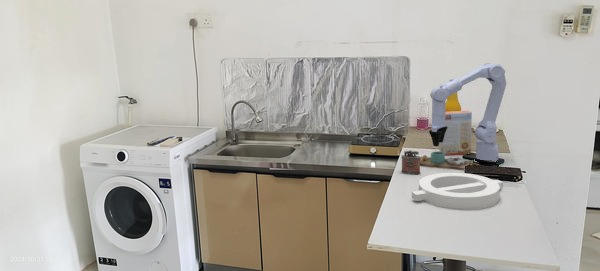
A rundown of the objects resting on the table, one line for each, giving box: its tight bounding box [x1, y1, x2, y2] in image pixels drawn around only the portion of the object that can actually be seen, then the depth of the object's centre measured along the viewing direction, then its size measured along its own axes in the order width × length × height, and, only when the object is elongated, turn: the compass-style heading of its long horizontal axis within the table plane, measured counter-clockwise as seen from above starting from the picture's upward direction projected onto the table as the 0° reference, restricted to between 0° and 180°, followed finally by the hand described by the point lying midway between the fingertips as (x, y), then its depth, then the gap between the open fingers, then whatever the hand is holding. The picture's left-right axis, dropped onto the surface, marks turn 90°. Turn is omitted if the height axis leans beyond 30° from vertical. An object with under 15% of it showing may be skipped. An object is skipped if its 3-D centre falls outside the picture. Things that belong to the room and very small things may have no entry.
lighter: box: [400, 149, 421, 175], centre depth 199 cm, size 8×3×10 cm, turn 62°
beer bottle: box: [445, 92, 462, 112], centre depth 247 cm, size 9×9×29 cm
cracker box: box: [439, 110, 473, 156], centre depth 224 cm, size 14×6×21 cm, turn 84°
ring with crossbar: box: [411, 172, 504, 210], centre depth 170 cm, size 28×28×5 cm
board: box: [420, 154, 472, 171], centre depth 210 cm, size 23×12×4 cm, turn 59°
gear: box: [430, 151, 447, 164], centre depth 210 cm, size 6×6×4 cm
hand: (438, 144), depth 209 cm, fingers open, 7 cm apart
